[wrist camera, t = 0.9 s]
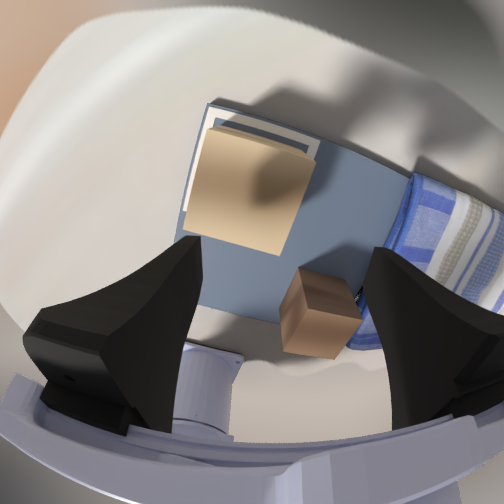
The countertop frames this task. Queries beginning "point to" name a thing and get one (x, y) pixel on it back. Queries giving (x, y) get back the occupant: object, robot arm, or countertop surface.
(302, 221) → the board
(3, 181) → the countertop surface
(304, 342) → the walnut block
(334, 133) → the countertop surface
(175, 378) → the robot arm
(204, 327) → the countertop surface
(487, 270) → the dish towel
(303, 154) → the oak base block
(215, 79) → the countertop surface
